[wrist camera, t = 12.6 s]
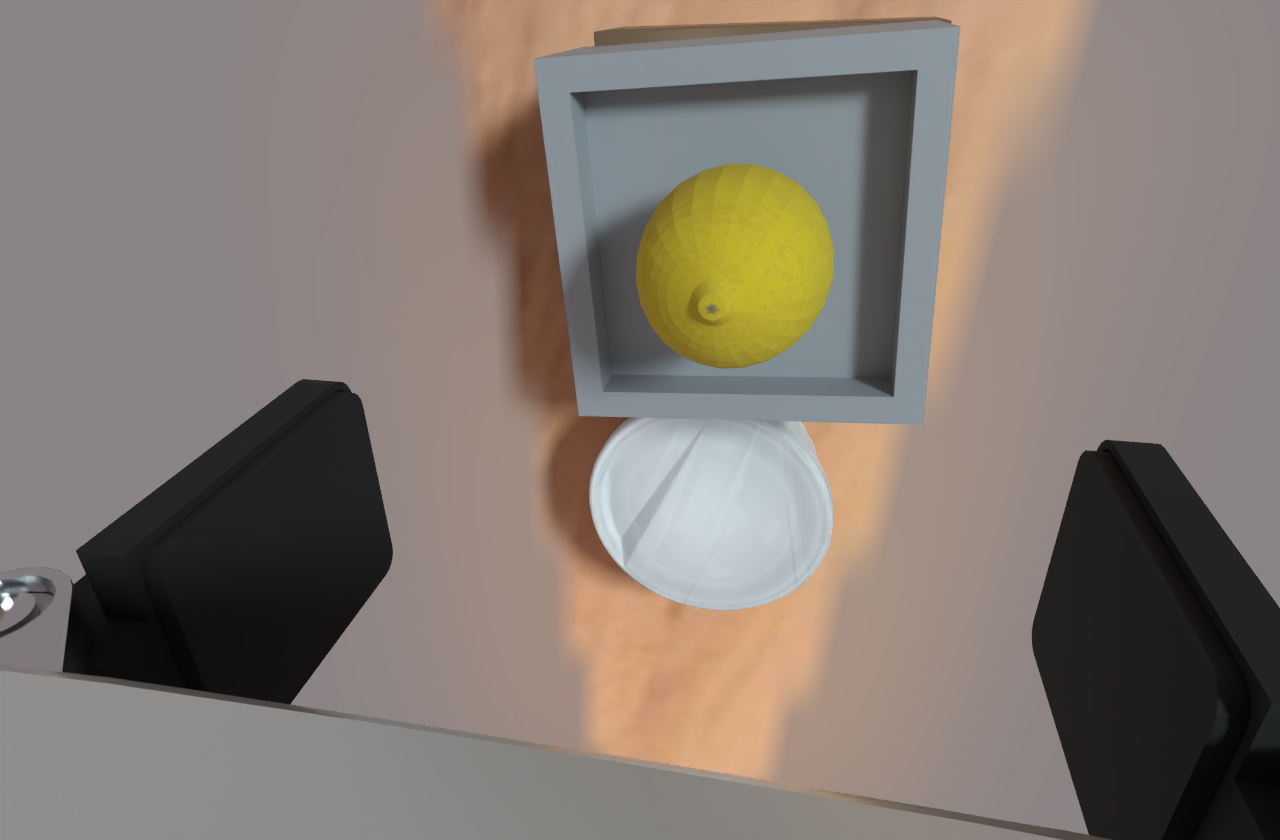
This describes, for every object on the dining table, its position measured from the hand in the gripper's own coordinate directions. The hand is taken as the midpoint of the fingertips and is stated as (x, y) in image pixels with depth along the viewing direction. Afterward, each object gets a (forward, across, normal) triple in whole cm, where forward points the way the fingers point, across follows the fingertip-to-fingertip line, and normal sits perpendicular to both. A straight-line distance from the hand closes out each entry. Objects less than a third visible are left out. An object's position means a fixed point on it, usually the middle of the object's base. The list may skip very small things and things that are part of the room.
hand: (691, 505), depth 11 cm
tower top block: (+22, +1, +2) cm, 22 cm away
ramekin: (+27, +2, +15) cm, 31 cm away
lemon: (+18, 0, +1) cm, 18 cm away
